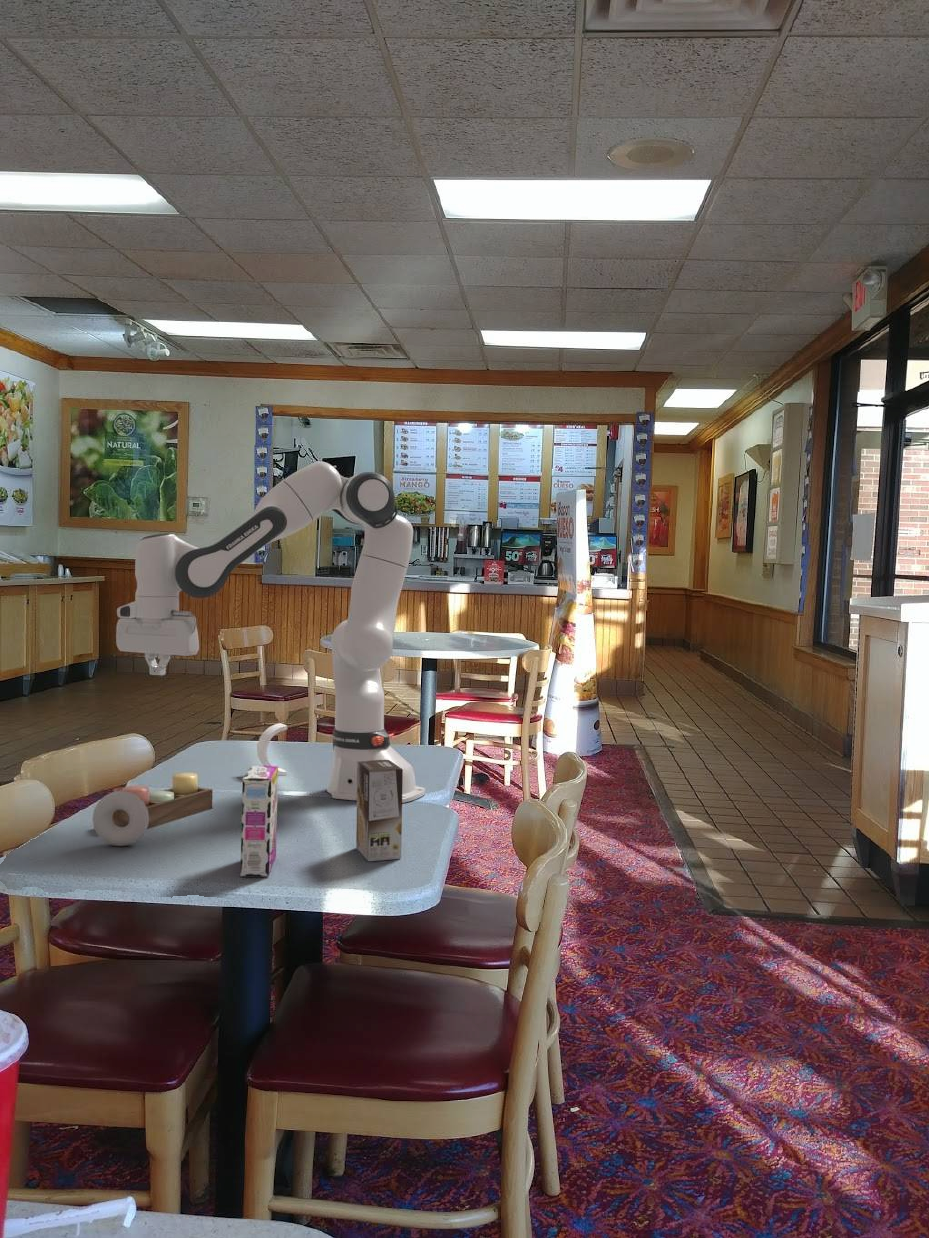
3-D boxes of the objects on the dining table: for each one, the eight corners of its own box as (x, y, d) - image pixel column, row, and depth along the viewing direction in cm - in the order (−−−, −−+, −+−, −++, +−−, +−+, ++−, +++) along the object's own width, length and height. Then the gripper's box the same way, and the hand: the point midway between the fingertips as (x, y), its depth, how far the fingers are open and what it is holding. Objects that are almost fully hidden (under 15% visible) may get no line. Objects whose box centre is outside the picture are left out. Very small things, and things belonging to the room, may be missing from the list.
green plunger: (179, 812, 194) (179, 792, 194) (161, 817, 190) (161, 797, 189) (160, 809, 196) (160, 789, 196) (142, 814, 192) (142, 794, 192)
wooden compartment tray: (212, 808, 201) (212, 789, 201) (134, 832, 182) (134, 811, 182) (183, 803, 204) (184, 784, 204) (104, 826, 185) (104, 806, 185)
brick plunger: (154, 807, 188) (154, 787, 188) (134, 813, 183) (135, 792, 183) (135, 804, 190) (135, 784, 190) (115, 809, 186) (115, 789, 186)
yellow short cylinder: (202, 793, 200) (202, 774, 200) (185, 798, 196) (185, 779, 195) (184, 790, 202) (184, 771, 202) (167, 795, 198) (167, 776, 198)
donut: (151, 843, 175) (151, 789, 175) (145, 849, 172) (145, 793, 171) (96, 842, 175) (96, 788, 175) (89, 848, 172) (89, 792, 171)
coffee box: (402, 859, 169) (404, 768, 168) (367, 862, 167) (369, 771, 166) (387, 844, 178) (389, 758, 177) (354, 847, 175) (355, 760, 175)
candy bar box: (270, 877, 158) (271, 779, 157) (239, 878, 157) (240, 778, 156) (278, 857, 169) (279, 764, 168) (249, 857, 168) (250, 764, 167)
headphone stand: (286, 775, 234) (287, 726, 233) (262, 777, 231) (263, 727, 230) (280, 771, 238) (281, 723, 237) (256, 773, 235) (257, 724, 234)
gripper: (205, 610, 202) (205, 676, 203) (132, 607, 211) (133, 670, 212) (184, 612, 197) (184, 679, 198) (110, 608, 206) (111, 673, 207)
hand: (157, 674), depth 205 cm, fingers closed
